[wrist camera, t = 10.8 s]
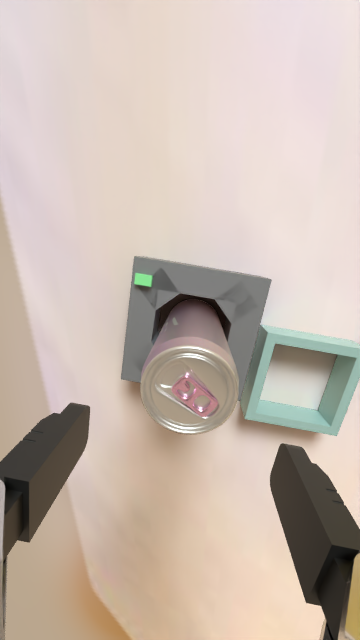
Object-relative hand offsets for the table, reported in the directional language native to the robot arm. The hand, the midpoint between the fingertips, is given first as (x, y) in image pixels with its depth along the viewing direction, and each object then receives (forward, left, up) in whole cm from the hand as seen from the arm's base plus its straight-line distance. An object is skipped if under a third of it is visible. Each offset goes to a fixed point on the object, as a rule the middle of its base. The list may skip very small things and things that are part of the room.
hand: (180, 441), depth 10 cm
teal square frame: (-13, +4, -19) cm, 23 cm away
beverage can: (0, 0, -19) cm, 19 cm away
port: (0, 0, -19) cm, 19 cm away
